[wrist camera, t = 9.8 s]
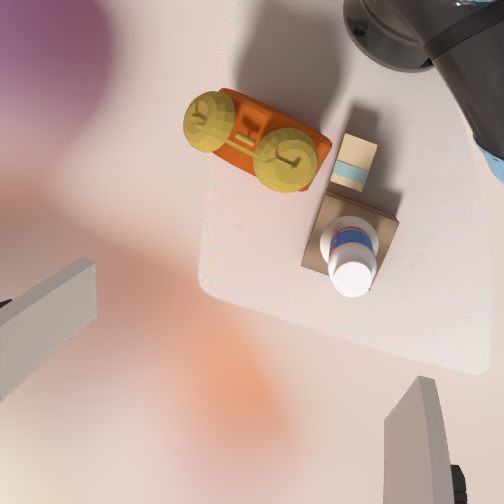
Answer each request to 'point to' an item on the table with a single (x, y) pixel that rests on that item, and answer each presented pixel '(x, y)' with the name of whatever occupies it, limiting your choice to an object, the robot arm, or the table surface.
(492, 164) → the robot arm
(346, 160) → the carton
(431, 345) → the table surface
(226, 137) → the alarm clock
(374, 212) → the podium
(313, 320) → the table surface
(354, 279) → the pill bottle
